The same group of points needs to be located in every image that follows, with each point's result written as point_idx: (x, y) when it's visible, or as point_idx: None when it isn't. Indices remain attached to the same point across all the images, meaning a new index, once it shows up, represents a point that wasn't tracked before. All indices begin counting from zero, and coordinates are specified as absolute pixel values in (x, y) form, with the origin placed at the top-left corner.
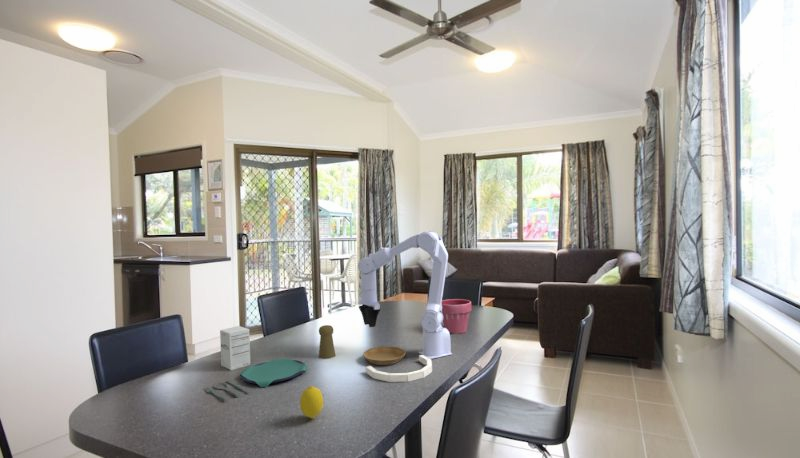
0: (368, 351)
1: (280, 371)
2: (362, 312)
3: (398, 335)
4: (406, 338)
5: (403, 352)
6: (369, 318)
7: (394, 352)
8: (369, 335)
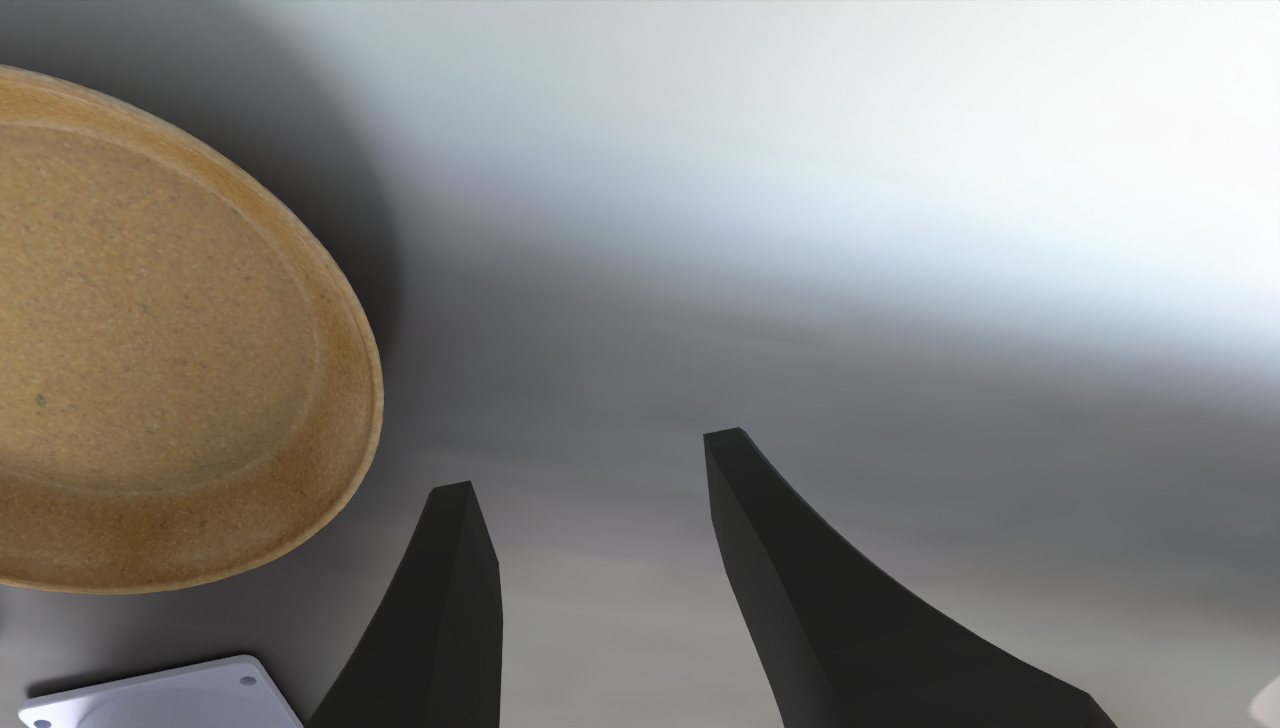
0: (254, 193)
1: None
2: (808, 645)
3: (933, 592)
4: None
5: (134, 568)
6: (342, 670)
7: (279, 481)
8: (1164, 353)
